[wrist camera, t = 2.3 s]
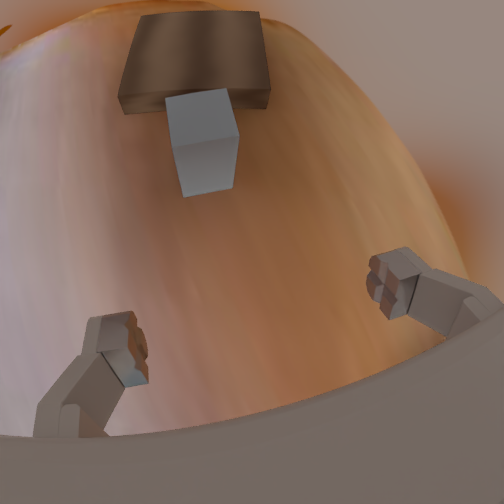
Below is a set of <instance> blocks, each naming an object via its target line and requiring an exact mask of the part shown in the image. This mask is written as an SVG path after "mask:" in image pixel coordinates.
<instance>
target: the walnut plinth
mask: <svg viewBox="0 0 504 504" xmlns="http://www.w3.org/2000/svg"><path fill="white" fill-rule="evenodd" d="M224 88H227V92H228V95H229V99H230V103H231V106H232V108H256V109H266V107H267V103H268V99H269V95H270V91H271V87H270V80H269V73H268V66H267V59H266V52H265V46H264V39H263V33H262V27H261V21H260V15H259V12H255V11H188V12H173V13H162V14H153V15H145V16H141V18H140V21H139V24H138V26H137V29H136V32H135V35H134V38H133V42H132V45H131V48H130V51H129V55H128V58H127V62H126V65H125V69H124V72H123V76H122V80H121V84H120V88H119V92H118V98H119V101H120V104H121V107H122V109H123V112H124V114H125V115H126V114H134V113H144V112H155V111H167V109H166V101H165V98H168V97H173V96H179V95H184V94H190V93H196V92H202V91H209V90H216V89H224Z"/></svg>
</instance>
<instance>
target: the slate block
mask: <svg viewBox="0 0 504 504" xmlns="http://www.w3.org/2000/svg"><path fill="white" fill-rule="evenodd" d="M165 101H166V109H167V116H168V124H169V131H170V138H171V145H172V151H173V155H174V159H175V164H176V168H177V172H178V177H179V181H180V185H181V189H182V193H183V197H189V196H194V195H199V194H204V193H209V192H215V191H220V190H225V189H231V188H233V181H234V174H235V166H236V159H237V151H238V144H239V137H240V135H239V132H238V128H237V124H236V121H235V117H234V113H233V110H232V106H231V103H230V99H229V95H228V92H227V88H224V89H216V90H209V91H202V92H196V93H190V94H184V95H179V96H173V97H168V98H165Z"/></svg>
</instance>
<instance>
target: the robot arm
mask: <svg viewBox="0 0 504 504" xmlns="http://www.w3.org/2000/svg"><path fill="white" fill-rule="evenodd" d="M369 267H370V269H371V271H370V272H369V274H368V275H367V280H366V286H367V291H368V293H369V295H370V297H371V298H372V299H373V300H374V301H376V302H378V303H380V310H381V311H382V312H383V313H384V315H385V316H386V317H387V318H388V320H391V319H394V318H397V317H400V316H403V315H406V314H408V316H410V317H412V318H414V319H416V320H417V321H419V322H421V323H423V324H425V325H426V326H428V327H430V328H432V329H433V330H435V331H437V332H439V333H441V334H442V335H444V336H446V337H447V338H446V340H445V341H444V342H443V343H441V344H439V345H437V346H435V347H433V348H431V349H429V350H427V351H425V352H423V353H421V354H419V355H417V356H414V357H412V358H410V359H408V360H406V361H404V362H402V363H399V364H397V365H395V366H393V367H390V368H388V369H386V370H383V371H381V372H379V373H376V374H374V375H371V376H369V377H366V378H364V379H361V380H359V381H356V382H354V383H351V384H348V385H346V386H343V387H340V388H337V389H335V390H332V391H329V392H326V393H323V394H320V395H317V396H314V397H311V398H308V399H305V400H301V401H298V402H295V403H292V404H288V405H285V406H281V407H278V408H274V409H270V410H267V411H263V412H259V413H255V414H251V415H247V416H243V417H238V418H234V419H229V420H225V421H220V422H215V423H210V424H205V425H199V426H193V427H188V428H181V429H175V430H168V431H161V432H153V433H144V434H134V435H123V436H109V435H108V434H107V433H106V432H105V431H104V430H103V429H104V427H105V426H106V424H107V422H108V420H109V418H110V416H111V414H112V412H113V410H114V408H115V407H116V405H117V403H118V401H119V399H120V397H121V395H122V394H123V392H124V390H125V388H126V387H132V386H138V385H143V384H149V380H148V366H147V364H146V362H145V360H146V358H147V357H148V349H147V343H146V339H145V336H144V333H143V331H142V329H141V328H139V327H137V318H136V316H135V314H134V312H133V311H126V312H120V313H114V314H108V315H104V316H97V317H91V318H90V319H89V320H88V322H87V327H86V332H85V337H84V342H83V348H82V353H81V355H79V356H77V357H76V358H75V359H74V360H73V362H72V363H71V364H70V365H69V366H68V368H67V369H66V370H65V371H64V372H63V374H62V375H61V376H60V377H59V378H58V380H57V381H56V382H55V383H54V385H53V386H52V387H51V388H50V390H49V391H48V392H47V393H46V395H45V396H44V397H43V398H42V400H41V401H40V402H39V403H38V406H37V411H36V418H35V424H34V431H33V437H21V436H8V435H0V504H504V304H503V303H502V302H501V301H500V300H499V299H498V298H497V297H496V296H495V295H494V294H493V293H492V292H491V291H490V290H489V289H488V288H487V287H484V286H482V285H479V284H477V283H474V282H471V281H468V280H466V279H463V278H460V277H457V276H455V275H452V274H449V273H446V272H444V271H441V270H438V269H432V268H430V267H429V266H428V265H427V264H426V263H425V262H424V261H423V260H422V259H421V258H420V257H418V256H417V255H416V254H415V253H414V252H413V251H412V250H411V249H409V248H408V247H402V248H398V249H395V250H392V251H389V252H385V253H381V254H378V255H374V256H372V257H371V258H370V260H369Z"/></svg>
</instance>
